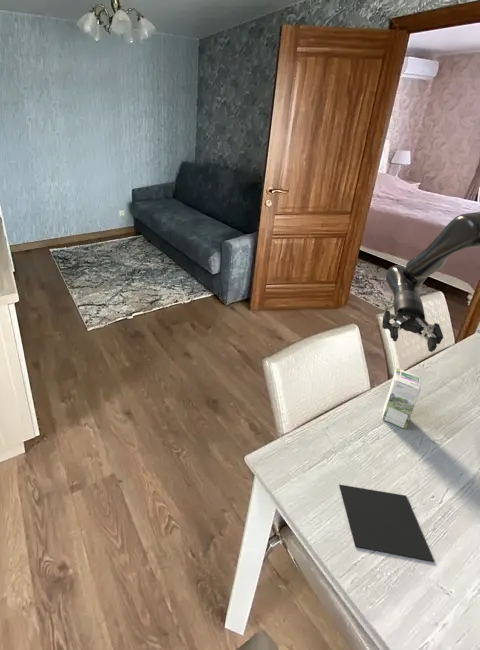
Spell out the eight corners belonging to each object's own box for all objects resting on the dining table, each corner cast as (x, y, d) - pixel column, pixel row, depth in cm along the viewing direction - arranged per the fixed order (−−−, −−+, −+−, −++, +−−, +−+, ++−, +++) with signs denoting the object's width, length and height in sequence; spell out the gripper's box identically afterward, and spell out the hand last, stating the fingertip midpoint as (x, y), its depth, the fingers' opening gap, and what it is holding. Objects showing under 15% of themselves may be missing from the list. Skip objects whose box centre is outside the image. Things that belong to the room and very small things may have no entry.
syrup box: (406, 415, 96) (421, 375, 91) (405, 430, 92) (420, 389, 86) (383, 406, 99) (396, 366, 94) (381, 420, 95) (394, 379, 89)
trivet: (405, 496, 76) (406, 495, 76) (433, 562, 65) (434, 561, 65) (339, 485, 78) (339, 484, 78) (355, 546, 67) (355, 546, 67)
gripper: (386, 291, 106) (388, 326, 94) (440, 305, 101) (450, 343, 89) (378, 309, 110) (380, 345, 98) (430, 323, 105) (439, 362, 93)
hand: (413, 344), depth 93 cm, fingers open, 8 cm apart
